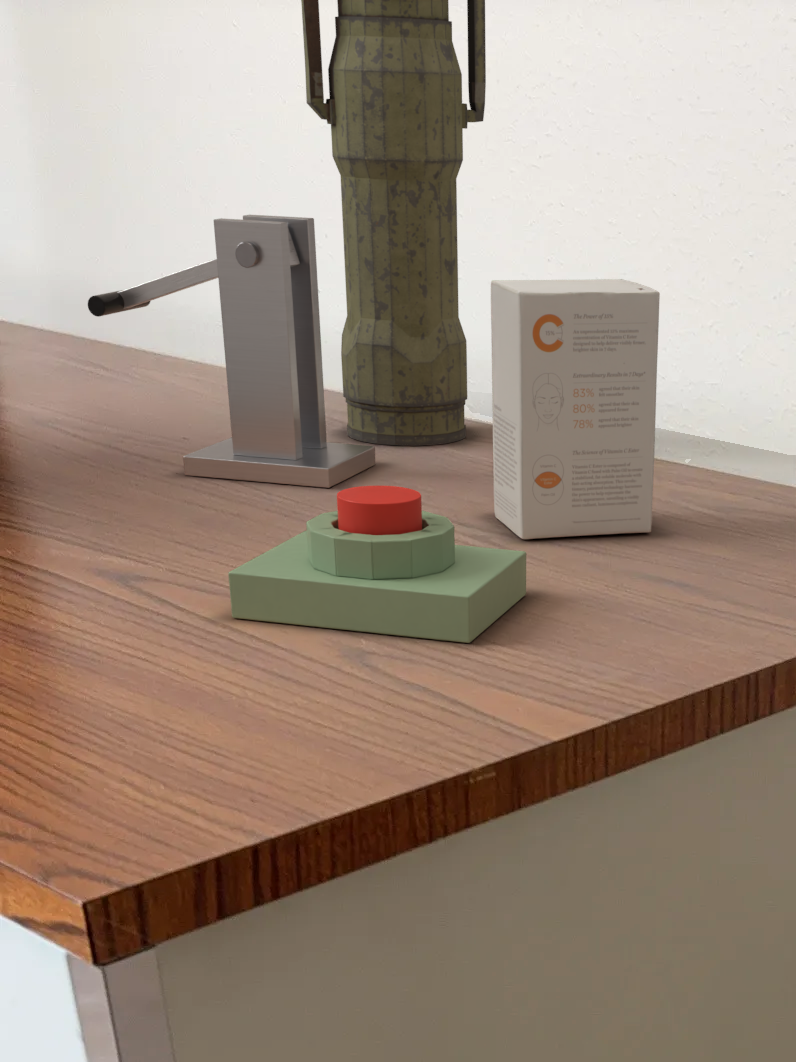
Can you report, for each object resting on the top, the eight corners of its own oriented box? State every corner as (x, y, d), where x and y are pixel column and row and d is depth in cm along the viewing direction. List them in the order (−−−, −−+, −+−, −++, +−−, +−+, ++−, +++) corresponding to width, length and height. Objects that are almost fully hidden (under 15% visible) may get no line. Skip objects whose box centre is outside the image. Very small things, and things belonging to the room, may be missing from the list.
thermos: (312, 426, 122) (277, -157, 104) (464, 420, 126) (456, -142, 108) (341, 449, 115) (309, -172, 97) (502, 442, 119) (499, -155, 101)
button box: (231, 618, 79) (223, 532, 77) (307, 572, 86) (302, 494, 84) (469, 643, 76) (468, 556, 74) (526, 594, 84) (526, 514, 82)
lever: (96, 328, 104) (80, 288, 103) (142, 318, 109) (128, 279, 108) (272, 269, 99) (258, 226, 98) (312, 261, 104) (299, 220, 103)
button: (325, 537, 78) (323, 499, 77) (357, 519, 82) (355, 482, 81) (404, 544, 77) (403, 506, 76) (434, 526, 81) (432, 489, 80)
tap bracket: (184, 475, 106) (158, 218, 98) (238, 452, 113) (218, 210, 105) (329, 488, 104) (314, 227, 96) (376, 464, 111) (365, 218, 103)
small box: (618, 510, 101) (625, 277, 94) (653, 534, 96) (663, 289, 89) (490, 516, 99) (488, 277, 92) (519, 541, 93) (519, 290, 87)
